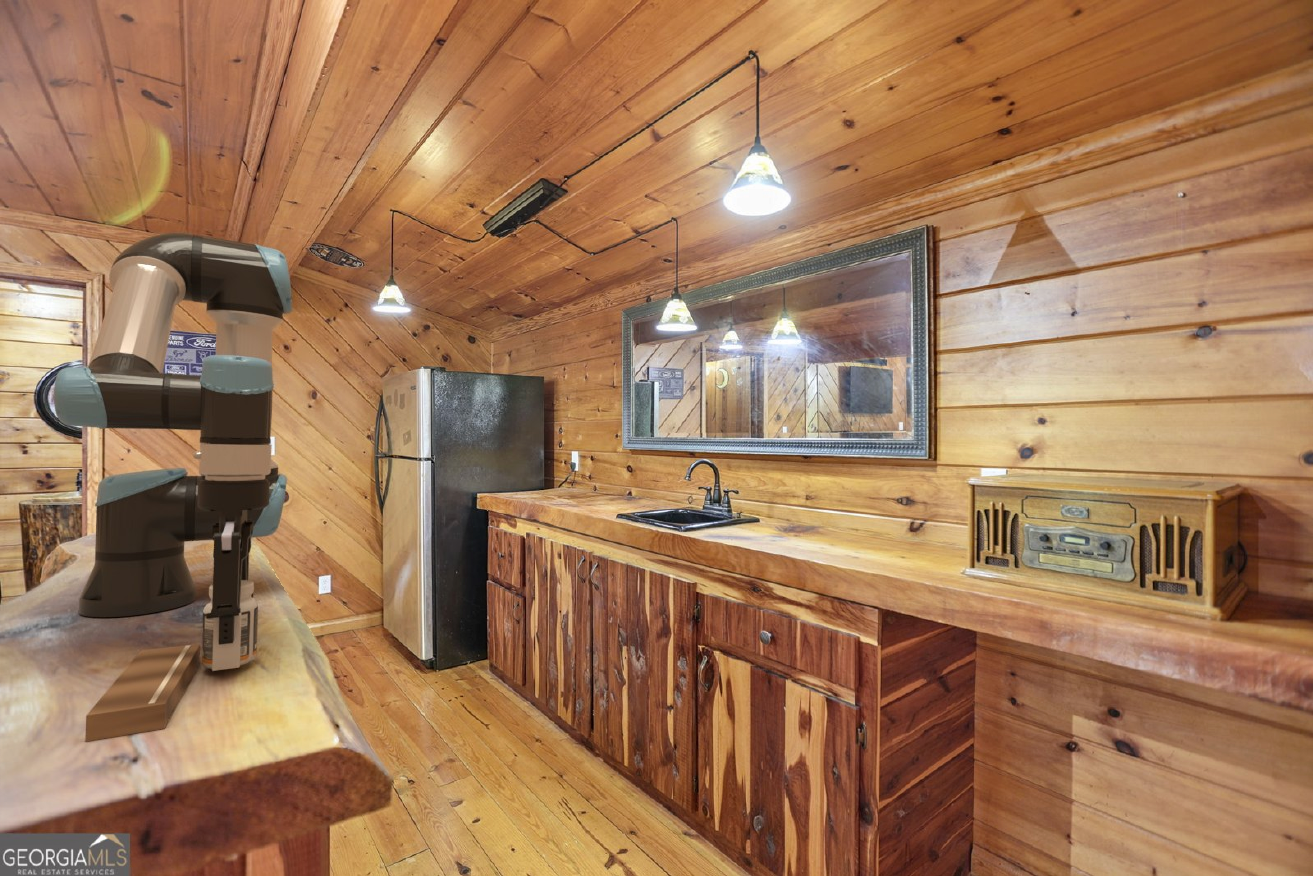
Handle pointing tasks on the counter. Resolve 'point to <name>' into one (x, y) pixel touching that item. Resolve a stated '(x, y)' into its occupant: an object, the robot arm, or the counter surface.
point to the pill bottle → (247, 626)
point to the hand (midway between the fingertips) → (229, 659)
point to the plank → (144, 693)
